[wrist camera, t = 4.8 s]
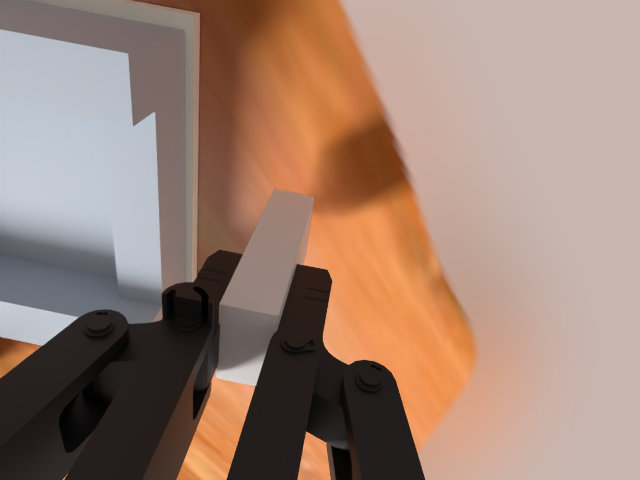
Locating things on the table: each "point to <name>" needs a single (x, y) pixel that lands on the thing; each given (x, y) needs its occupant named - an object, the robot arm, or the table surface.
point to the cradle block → (88, 167)
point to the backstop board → (121, 5)
